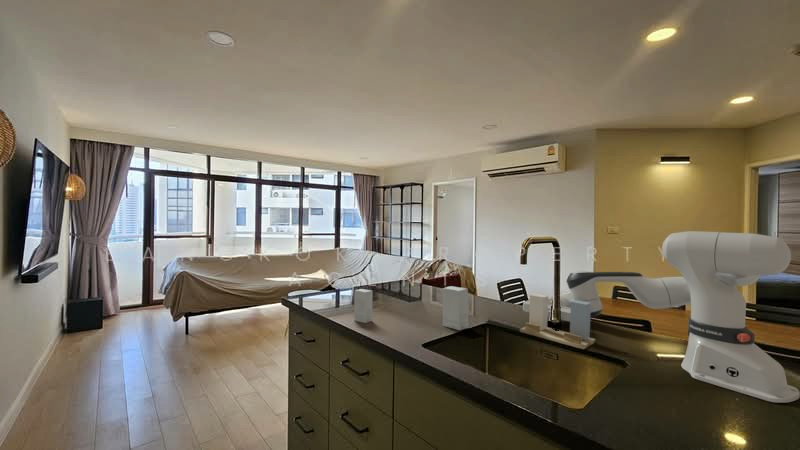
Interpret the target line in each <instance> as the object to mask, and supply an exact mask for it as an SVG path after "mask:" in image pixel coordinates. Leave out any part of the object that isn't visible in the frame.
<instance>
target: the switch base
mask: <svg viewBox="0 0 800 450" xmlns="http://www.w3.org/2000/svg"><path fill="white" fill-rule="evenodd" d="M553 329H554V328H553ZM553 329H552V327H548V326H547V329H544V330H540V326H539V325H535V324H531V323H529V322H525V323H524V327H521V328H519V332H520V333H523V334H527V335H530V336H534V337H538V338H541V339H545V340H548V341H551V342H556V343H559V344H563V345H567V346H569V347H570V346H571V347H573V348H577V349H582V350H585V349H587V348H588V347H591V345H594V344H595V343H596V339H595V338H592V337H590V338H588V339H587V340H582V339H581V336H578V335H574V334H570V331H569V332H567V331H566V330H565V331H564V330H560V329H558V330H559V331H555V330H553Z"/></svg>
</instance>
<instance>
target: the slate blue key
mask: <svg viewBox="0 0 800 450" xmlns="http://www.w3.org/2000/svg"><path fill="white" fill-rule="evenodd" d="M590 312H591V303H589V302H583V301H578V300H574V301H572V302H571V314H570V322H569V333H570V334H574V335H578V336H581V339H582V340H587V339H588V338H591V337H590V336H591V333H590V332H591V331H590V330H591V318H590Z"/></svg>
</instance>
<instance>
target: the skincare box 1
mask: <svg viewBox="0 0 800 450" xmlns="http://www.w3.org/2000/svg"><path fill="white" fill-rule="evenodd" d="M373 293H374V292H373V290H370V289H364V288H359V289H355V290H354V300H353V301H354V306H353V308H354V311H353V321H354V322H359V323H363V324H367V323H369V322H372V321H373Z"/></svg>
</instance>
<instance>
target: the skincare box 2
mask: <svg viewBox="0 0 800 450" xmlns="http://www.w3.org/2000/svg"><path fill="white" fill-rule="evenodd" d="M468 292H469V289H468V288H465V287H458V286H453V285H451V286H446V287H443V288H442V295H441V297H442V326H443V327H446V328H449V329H453V330H456V331H462V330H465V329H468V328H469V293H468Z"/></svg>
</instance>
